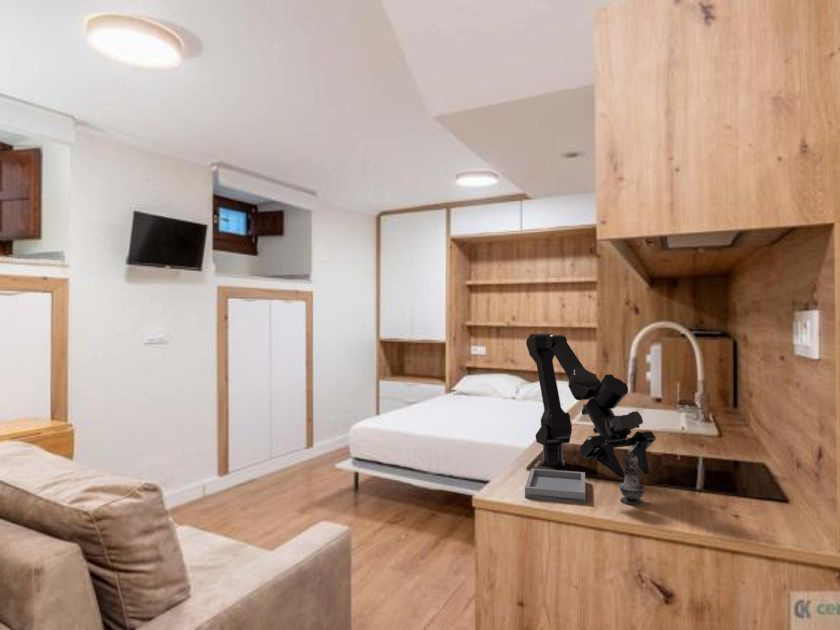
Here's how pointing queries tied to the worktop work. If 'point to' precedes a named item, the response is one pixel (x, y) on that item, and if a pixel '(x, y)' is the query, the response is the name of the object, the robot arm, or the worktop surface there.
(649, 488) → the worktop surface
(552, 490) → the grey tray
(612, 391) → the robot arm
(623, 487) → the grey tall rounded piece
